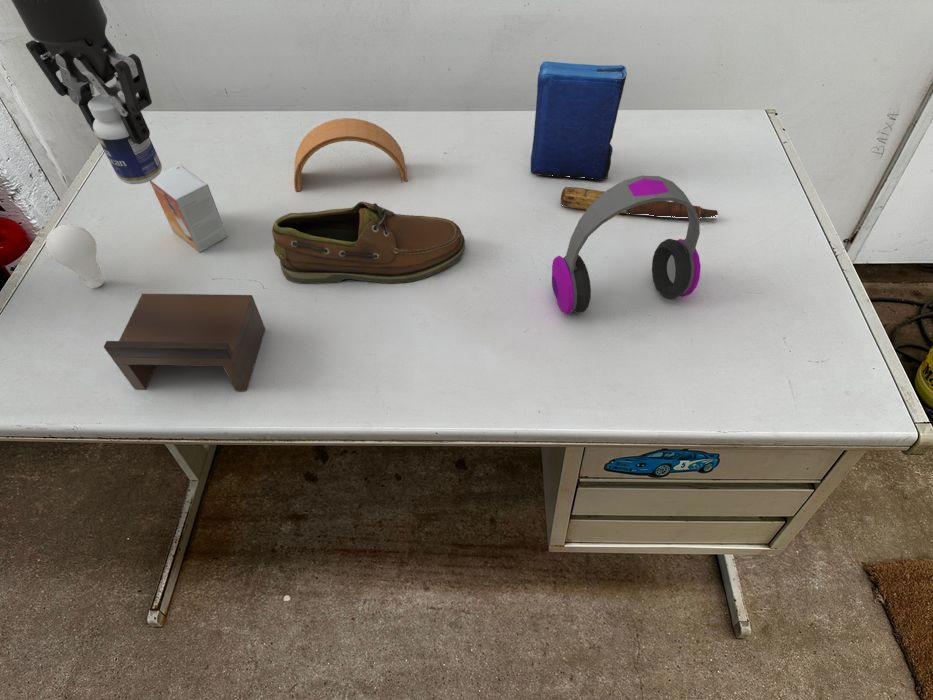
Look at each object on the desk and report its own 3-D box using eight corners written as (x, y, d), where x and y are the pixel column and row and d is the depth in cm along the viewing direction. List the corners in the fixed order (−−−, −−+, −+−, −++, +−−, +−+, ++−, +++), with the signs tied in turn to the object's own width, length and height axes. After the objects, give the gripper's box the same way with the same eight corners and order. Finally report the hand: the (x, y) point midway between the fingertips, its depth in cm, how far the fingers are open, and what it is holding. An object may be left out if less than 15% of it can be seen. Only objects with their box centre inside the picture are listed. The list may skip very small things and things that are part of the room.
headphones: (559, 328, 87) (579, 218, 72) (543, 286, 93) (558, 174, 77) (694, 308, 90) (742, 197, 74) (670, 267, 95) (710, 156, 80)
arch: (296, 172, 111) (283, 122, 103) (405, 163, 113) (400, 113, 105) (295, 191, 108) (282, 141, 100) (407, 182, 109) (403, 132, 102)
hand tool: (560, 197, 106) (563, 182, 104) (714, 217, 103) (720, 201, 101) (558, 210, 104) (561, 195, 102) (715, 230, 101) (722, 214, 99)
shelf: (162, 327, 88) (135, 282, 81) (265, 328, 87) (248, 284, 80) (134, 389, 81) (103, 346, 74) (246, 391, 81) (226, 348, 74)
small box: (172, 231, 101) (146, 178, 93) (202, 216, 103) (179, 162, 95) (199, 254, 97) (174, 200, 89) (229, 237, 100) (208, 183, 92)
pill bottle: (109, 180, 77) (70, 107, 69) (138, 157, 80) (104, 85, 72) (143, 189, 75) (107, 116, 68) (172, 166, 78) (140, 94, 71)
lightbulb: (94, 268, 95) (58, 211, 87) (127, 276, 94) (93, 220, 86) (67, 295, 92) (26, 238, 83) (101, 304, 91) (63, 247, 82)
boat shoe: (472, 273, 95) (472, 222, 87) (282, 302, 91) (265, 252, 83) (458, 230, 101) (457, 179, 93) (280, 255, 97) (264, 205, 90)
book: (608, 168, 112) (630, 60, 96) (608, 186, 109) (631, 77, 93) (530, 162, 113) (540, 54, 98) (528, 179, 110) (538, 70, 94)
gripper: (-39, -17, 60) (53, 138, 73) (74, 6, 56) (149, 165, 69) (22, -43, 64) (98, 108, 77) (131, -23, 61) (191, 131, 74)
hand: (122, 134), depth 73 cm, fingers closed on pill bottle, 5 cm apart
